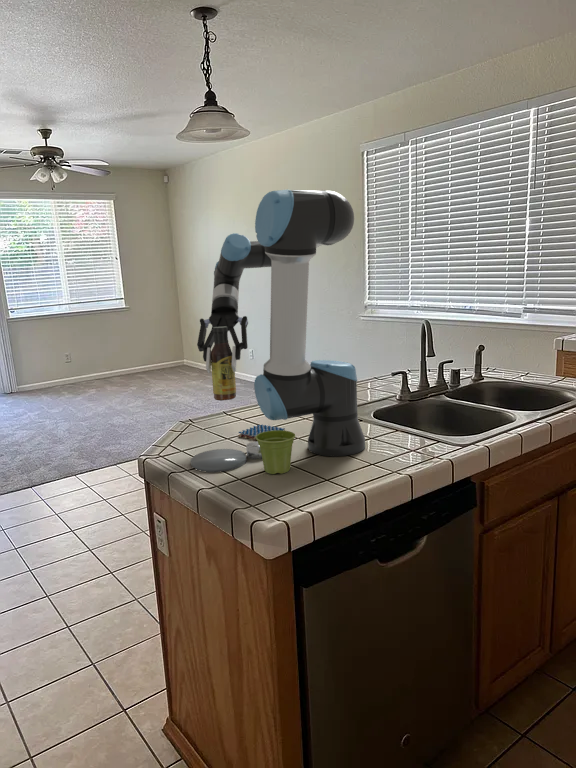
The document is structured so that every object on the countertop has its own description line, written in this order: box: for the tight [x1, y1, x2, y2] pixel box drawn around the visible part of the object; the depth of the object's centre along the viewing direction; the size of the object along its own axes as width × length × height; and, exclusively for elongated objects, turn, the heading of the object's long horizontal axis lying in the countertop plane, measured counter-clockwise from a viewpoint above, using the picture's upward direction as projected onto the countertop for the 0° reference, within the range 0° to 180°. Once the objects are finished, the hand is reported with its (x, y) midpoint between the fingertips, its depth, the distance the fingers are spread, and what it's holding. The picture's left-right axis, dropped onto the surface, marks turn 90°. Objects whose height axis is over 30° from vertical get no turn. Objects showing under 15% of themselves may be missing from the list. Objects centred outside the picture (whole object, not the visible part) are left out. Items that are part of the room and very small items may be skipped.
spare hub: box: [245, 440, 263, 460], centre depth 147 cm, size 6×6×3 cm
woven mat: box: [238, 424, 285, 441], centre depth 164 cm, size 10×11×2 cm
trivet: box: [190, 448, 247, 473], centre depth 143 cm, size 14×14×1 cm
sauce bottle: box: [211, 326, 237, 402], centre depth 154 cm, size 6×6×20 cm
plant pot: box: [255, 429, 296, 475], centre depth 135 cm, size 9×9×9 cm
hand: (220, 369), depth 150 cm, fingers closed on sauce bottle, 6 cm apart
